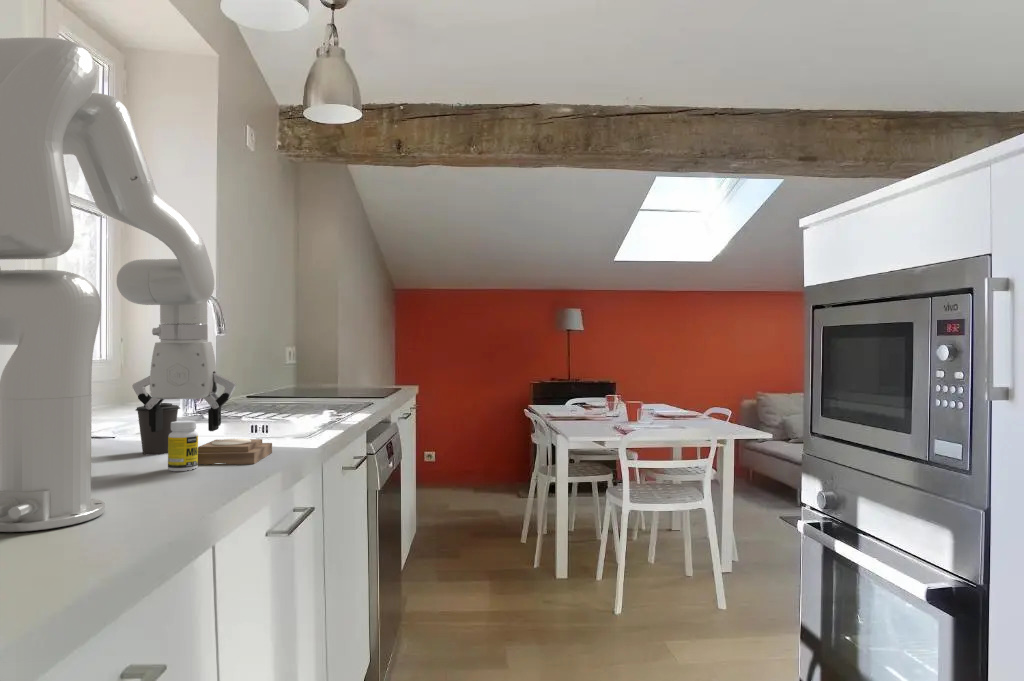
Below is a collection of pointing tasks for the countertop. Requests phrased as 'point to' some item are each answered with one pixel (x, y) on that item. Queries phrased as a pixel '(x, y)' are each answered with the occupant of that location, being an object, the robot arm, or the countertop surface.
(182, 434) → the supplement bottle
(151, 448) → the coffee cup
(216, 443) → the plinth
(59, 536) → the countertop surface
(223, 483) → the countertop surface
